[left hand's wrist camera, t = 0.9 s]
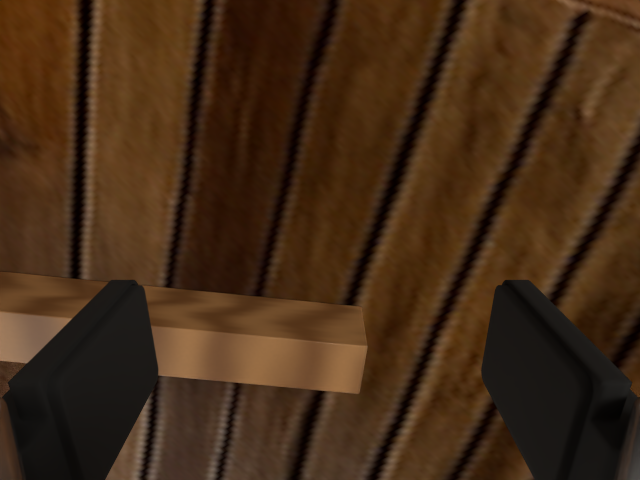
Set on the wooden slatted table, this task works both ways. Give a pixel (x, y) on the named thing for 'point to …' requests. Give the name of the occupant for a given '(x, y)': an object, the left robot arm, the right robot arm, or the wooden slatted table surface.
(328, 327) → the bar
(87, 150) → the wooden slatted table surface
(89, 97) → the wooden slatted table surface
